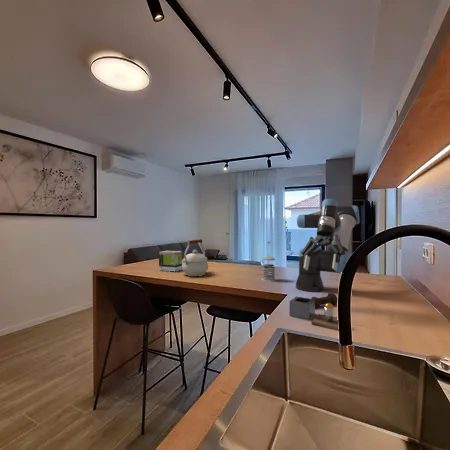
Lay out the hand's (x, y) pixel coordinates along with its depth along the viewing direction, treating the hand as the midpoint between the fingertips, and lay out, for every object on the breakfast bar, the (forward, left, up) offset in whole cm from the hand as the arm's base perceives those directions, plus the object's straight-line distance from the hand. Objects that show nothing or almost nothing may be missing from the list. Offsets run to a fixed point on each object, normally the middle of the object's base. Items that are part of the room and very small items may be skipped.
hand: (319, 269), depth 118 cm
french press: (-36, -42, -17) cm, 58 cm away
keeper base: (+17, +8, -17) cm, 25 cm away
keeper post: (+17, +8, -16) cm, 25 cm away
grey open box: (+14, -3, -17) cm, 22 cm away
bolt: (-2, 0, -17) cm, 18 cm away
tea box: (-23, -117, -17) cm, 121 cm away
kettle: (-23, -91, -17) cm, 95 cm away
